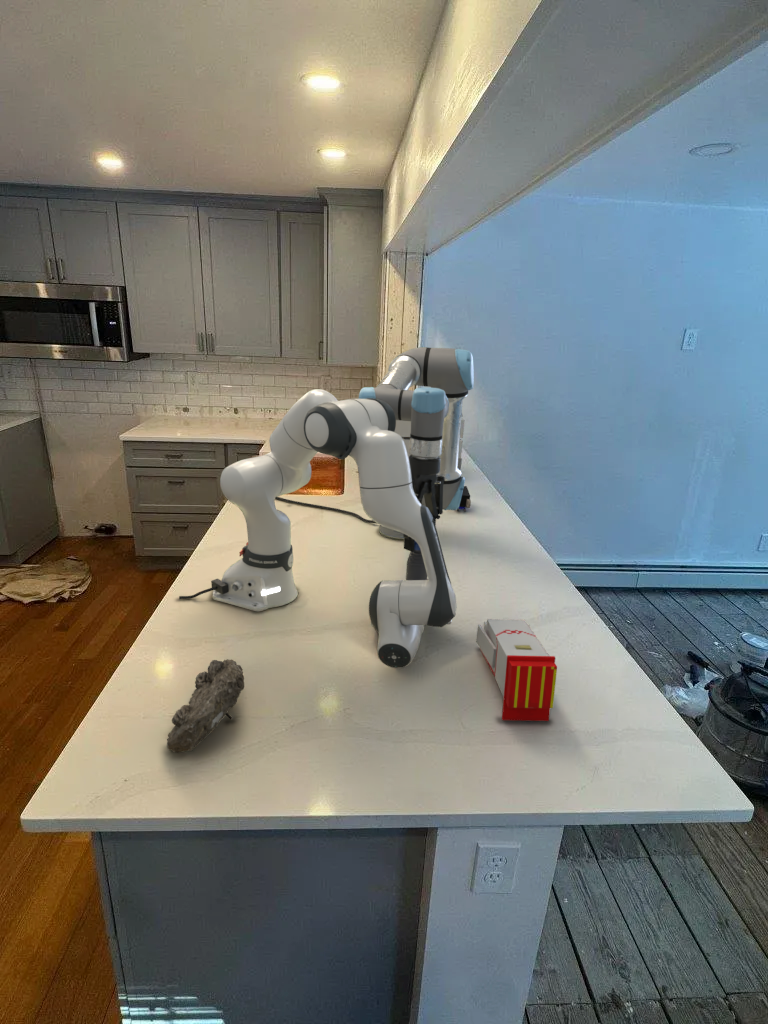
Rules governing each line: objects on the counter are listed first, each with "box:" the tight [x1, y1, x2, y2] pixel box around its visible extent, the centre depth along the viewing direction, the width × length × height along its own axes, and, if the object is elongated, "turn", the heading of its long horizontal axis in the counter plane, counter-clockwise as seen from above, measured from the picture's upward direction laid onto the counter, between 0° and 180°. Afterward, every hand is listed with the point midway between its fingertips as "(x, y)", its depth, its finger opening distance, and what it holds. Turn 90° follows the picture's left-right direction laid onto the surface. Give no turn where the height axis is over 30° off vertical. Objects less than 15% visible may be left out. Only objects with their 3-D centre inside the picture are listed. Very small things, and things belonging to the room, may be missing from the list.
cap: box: [414, 541, 421, 550], centre depth 140 cm, size 4×4×2 cm
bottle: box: [405, 550, 428, 580], centre depth 144 cm, size 5×5×21 cm
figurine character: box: [456, 485, 472, 513], centre depth 228 cm, size 7×8×15 cm
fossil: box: [166, 658, 245, 754], centre depth 106 cm, size 22×10×15 cm
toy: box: [475, 618, 558, 722], centre depth 122 cm, size 12×13×30 cm
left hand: (415, 592), depth 146 cm, fingers closed on bottle, 5 cm apart
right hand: (418, 545), depth 140 cm, fingers open, 7 cm apart
